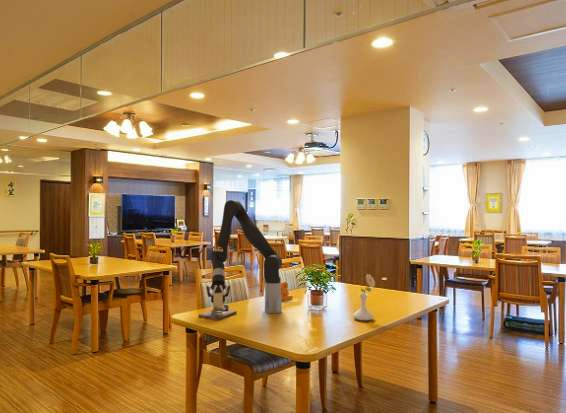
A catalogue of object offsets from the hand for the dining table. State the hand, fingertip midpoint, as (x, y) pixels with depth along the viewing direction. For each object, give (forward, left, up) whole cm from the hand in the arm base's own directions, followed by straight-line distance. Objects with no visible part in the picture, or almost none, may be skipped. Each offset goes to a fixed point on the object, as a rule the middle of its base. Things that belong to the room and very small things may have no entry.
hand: (218, 302), depth 235 cm
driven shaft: (-1, +5, -6) cm, 8 cm away
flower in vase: (-74, -34, -8) cm, 82 cm away
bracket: (-11, -60, -8) cm, 62 cm away
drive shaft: (+1, -8, -6) cm, 10 cm away
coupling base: (+1, -1, -8) cm, 8 cm away
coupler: (+1, -1, -5) cm, 5 cm away
